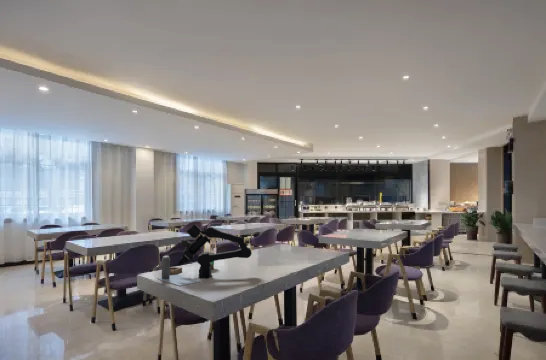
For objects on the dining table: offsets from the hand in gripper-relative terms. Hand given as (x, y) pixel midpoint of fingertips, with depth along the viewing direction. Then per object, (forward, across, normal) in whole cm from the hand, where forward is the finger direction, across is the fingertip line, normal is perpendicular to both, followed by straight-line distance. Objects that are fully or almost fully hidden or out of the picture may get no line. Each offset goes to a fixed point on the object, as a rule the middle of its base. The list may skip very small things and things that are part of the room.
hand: (178, 263), depth 183 cm
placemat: (+6, +5, +6) cm, 10 cm away
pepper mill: (+11, 0, 0) cm, 11 cm away
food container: (-6, -23, +19) cm, 30 cm away
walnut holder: (+10, -16, +2) cm, 19 cm away
